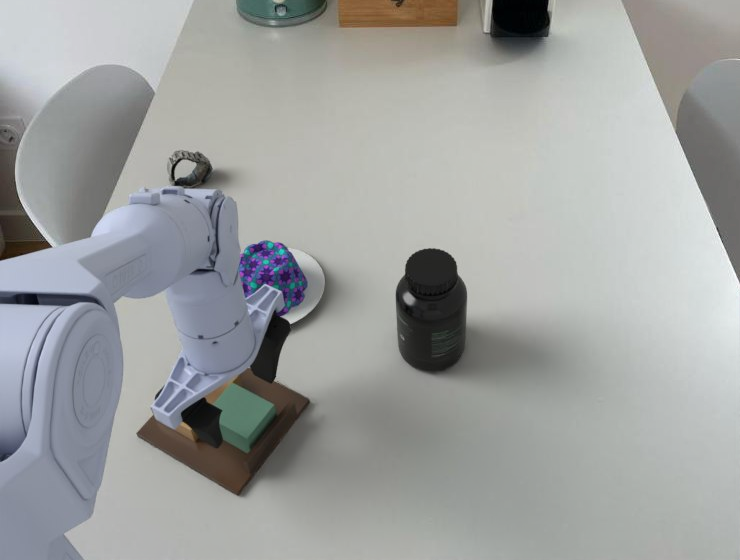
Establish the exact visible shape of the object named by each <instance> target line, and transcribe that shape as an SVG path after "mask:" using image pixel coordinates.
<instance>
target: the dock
mask: <svg viewBox="0 0 740 560" xmlns="http://www.w3.org/2000/svg"><path fill="white" fill-rule="evenodd" d="M231 383H234V384H236V385H238V386H240V387H242V388H244V389H246V390H248V391H249V392H251V393H253V394H255V395H257V396H259V397H261V398H263V399H265V400H267V401H268V402H270V403H272V404H274V405H275V409H276V413H277V417H276V418H275V420H274V421H273V422H272V423H271V425H270V426H269V427H268V428H267V430H266V431H265V432H264V434H263V435H262V436H261V437H260V439H259V440H258V441H257V442H256V444H255V445H254V446H253V447H252V449H251V450H250V451H249V452H248V453H246V452H244V451H242V450H241V449H239V448H237V447H235V446H234V445H232V444H230V443H228V442H226V441H225V440H223V442H222V444H221V445H220V446H219V448H217V449H216V448H214V447H212V446H211V445H209V444H207V443H205V442H204V441H202V440H200V438H199V437H198V436H197V434H196V433H195V432H194V431H193V430H192V429H191V428H190V427H189V426H188V425H187V424H185V423H184V422H181V424H180V425H179V426H178V427H177V428H176V429H175V430H174V429H172V428H170V427H168V426H166V425H165V424H163V423H161V422H160V421H158V420H156V418H155V415H154V413H153V411H152V408H151V407H150V410H151V412H152V416H151V417H150V418H149V419H148V420H147V421H146V422H145V423H143V425H142V426H141V427H140V428H139V430H137V432H136V433H135V434H136V436H137V437H138V438H139V439H141V440H142V441H144V442H146V443H147V444H149V445H151V446H152V447H154V448H156V449H157V450H159V451H161V452H162V453H164V454H166V455H167V456H169V457H171V458H173V459H175V460H176V461H178V462H179V463H181V464H183V465H185V466H186V467H188V468H190V469H191V470H193V471H194V472H196V473H198V474H200V475H201V476H203V477H205V478H206V479H208V480H210V481H212V482H213V483H215V484H217V485H218V486H219V487H221V488H223V489H225V490H227V491H228V492H229V493H231V494H233V495H235V496H237V497H239V496H240V494H241V493H242V492H243V491H244V490H245V488H246V487H247V486H248V484H249V483H250V481H252V479H253V477H254V476H255V475H256V474H257V472H258V471H259V470H260V468H261V467H262V466H263V464H264V463H265V462H266V461H267V459H268V458H269V456H270V455H271V454H272V453H273V451H274V450H275V449H276V448H277V446H278V445H279V444H280V443H281V441H282V440H283V438H284V437H285V436H286V435H287V434H288V432H289V431H290V430H291V428H292V427H293V426H294V424H295V423H296V421H297V420H298V419H299V418H300V416H301V415H302V414H303V412H304V411H305V410H306V408H308V406H309V405H310V403H311V400H310V398H308V397H307V396H305V395H302V394H301V393H298V392H296V391H295V390H293V389H291V388H289V387H287V386H285V385H283V384H281V383H279V382H278V381H275V380H274V381H273V382H272V384H270V383H268V382H266V381H264V380H263V379H261V378H259V377H257V376H255V375H254V374H253V372H252V370H251V368H250V367H248V368H247V369H246V370H245V371H244V372H242V373H241V374H239V375H238V376H236V377H235V378H233V379H231V380H230V381H228V382H227V383H225V384H223V385H222V386H220V387H219V388H217V389H215V390H214V391H212V392H211V393H209V394H208V395H206V396H204V397H203V398H206V400H207V402H208V403H210V404H212V405H213V403H214V402H215V401H216V400H217V399H218V398H219V396H220V395H221V394H222V393H223V392H224V391H225V390H226V388H227V387H228V386H229V385H230V384H231Z"/></svg>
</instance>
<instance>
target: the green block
mask: <svg viewBox="0 0 740 560" xmlns="http://www.w3.org/2000/svg"><path fill="white" fill-rule="evenodd" d="M213 405H214V406H216V407H217V408H219V409H221V410H223V411H222V413H221V415H220V420H219V426H220V430H221V434H222V437H223V440H225V441H226V442H228V443H230V444H232V445H234V446H235V447H237V448H239V449H241V450H242V451H244V452H246V453H248V452H249V451H250V450H251V449H252V447H253V446H254V445H255V444H256V442H257V441H258V440H259V439H260V437H261V436H262V435H263V434H264V432H265V431H266V430H267V428H268V427H269V426H270V425H271V423H272V422H273V421H274V420H275V418H276V417H277V413H276V409H275V405H274V404H272V403H270V402H268V401H267V400H265V399H263V398H261V397H259V396H257V395H255V394H253V393H251V392H249V391H248V390H246V389H244V388H242V387H240V386H238V385H236V384H234V383H231V384H230V385H229V386H228V387H227V388H226V390H225V391H224V392H223V393H222V394H221V395H220V396H219V398H218V399H217V400H216V401H215V402H214V403H213Z"/></svg>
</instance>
